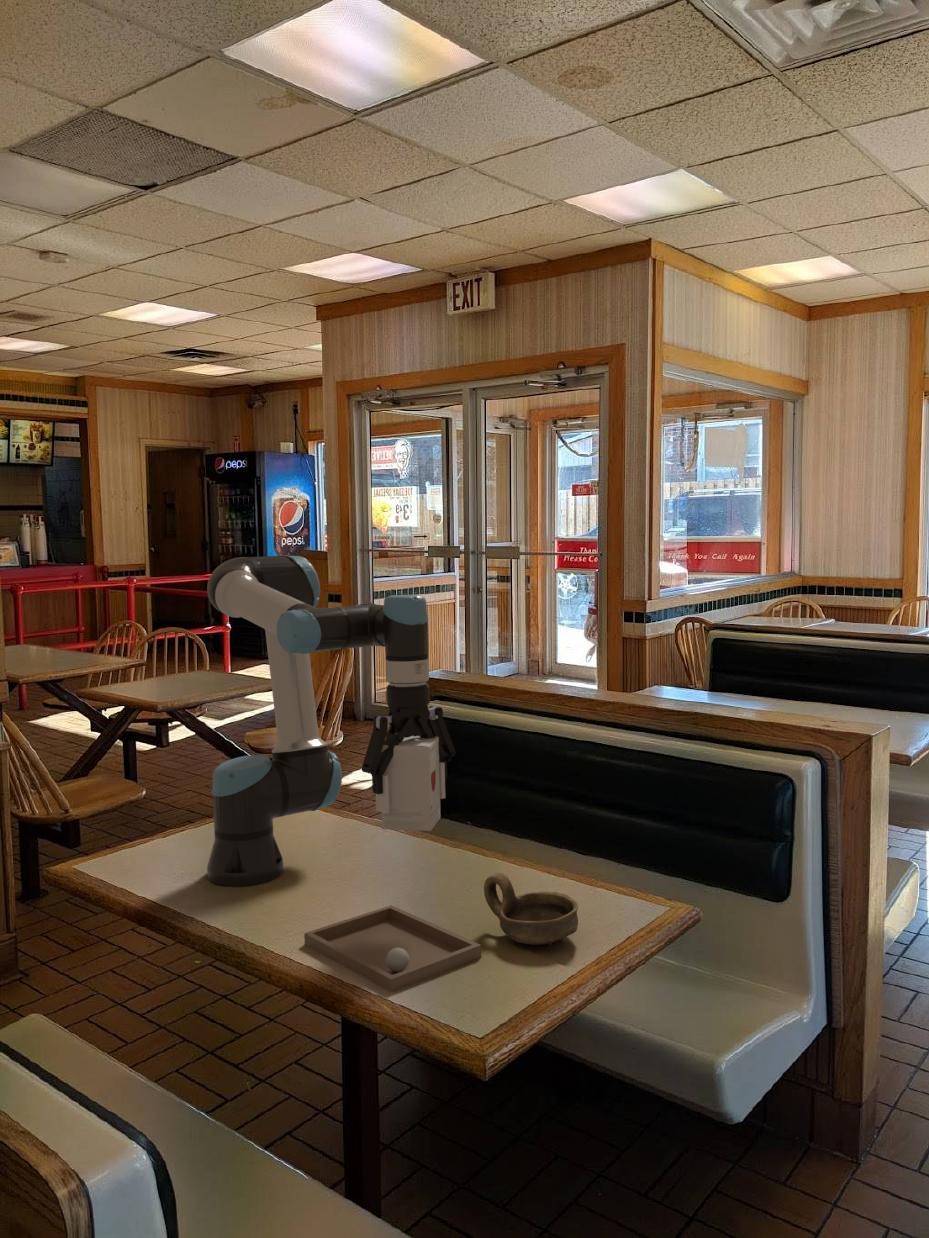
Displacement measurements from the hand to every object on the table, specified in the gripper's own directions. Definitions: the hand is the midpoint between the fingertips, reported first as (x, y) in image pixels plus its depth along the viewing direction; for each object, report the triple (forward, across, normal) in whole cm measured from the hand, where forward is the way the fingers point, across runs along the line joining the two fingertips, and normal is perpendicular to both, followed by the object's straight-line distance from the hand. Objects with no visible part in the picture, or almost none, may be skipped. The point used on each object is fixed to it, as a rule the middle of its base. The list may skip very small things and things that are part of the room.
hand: (411, 804), depth 178 cm
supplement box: (+4, 0, 0) cm, 4 cm away
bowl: (+21, +8, -21) cm, 31 cm away
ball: (+20, -17, -16) cm, 31 cm away
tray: (+21, -12, -9) cm, 26 cm away
